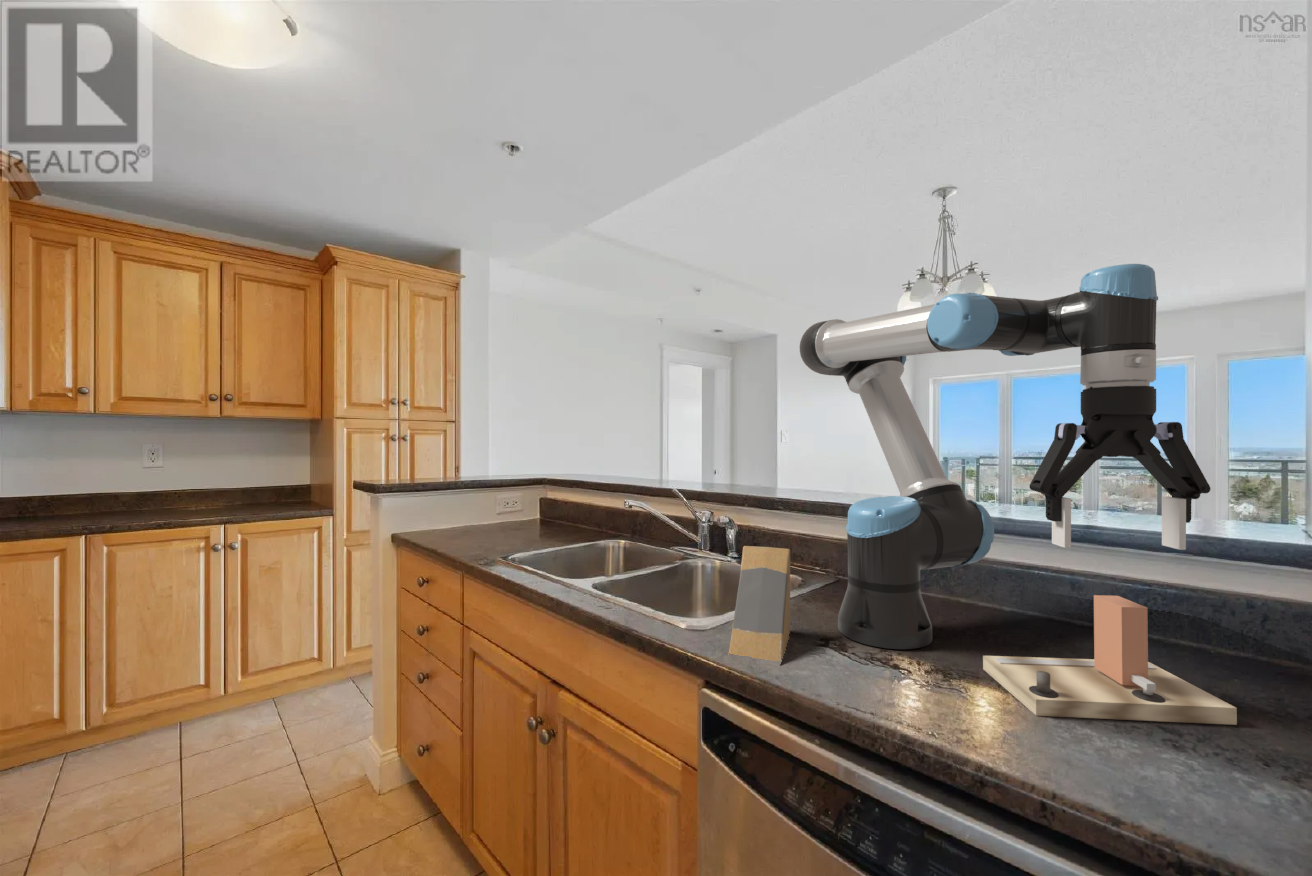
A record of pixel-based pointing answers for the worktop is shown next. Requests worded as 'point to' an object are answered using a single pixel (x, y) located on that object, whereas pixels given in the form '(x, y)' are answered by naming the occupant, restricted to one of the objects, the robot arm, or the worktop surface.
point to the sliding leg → (1122, 641)
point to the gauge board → (1103, 692)
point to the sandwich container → (762, 604)
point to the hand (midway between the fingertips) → (1116, 546)
